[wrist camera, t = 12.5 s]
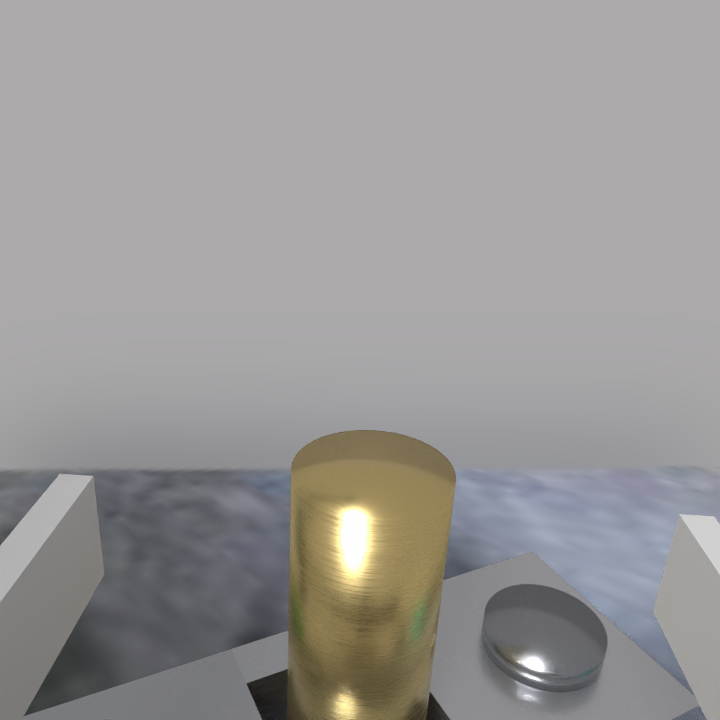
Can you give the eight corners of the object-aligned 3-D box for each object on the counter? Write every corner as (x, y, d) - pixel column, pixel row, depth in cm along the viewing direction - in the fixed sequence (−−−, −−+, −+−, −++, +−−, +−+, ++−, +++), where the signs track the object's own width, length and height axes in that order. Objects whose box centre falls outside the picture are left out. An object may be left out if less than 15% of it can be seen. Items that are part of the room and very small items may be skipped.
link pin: (266, 752, 22) (267, 446, 18) (377, 707, 24) (402, 419, 19) (318, 874, 19) (334, 535, 14) (442, 811, 20) (489, 493, 16)
